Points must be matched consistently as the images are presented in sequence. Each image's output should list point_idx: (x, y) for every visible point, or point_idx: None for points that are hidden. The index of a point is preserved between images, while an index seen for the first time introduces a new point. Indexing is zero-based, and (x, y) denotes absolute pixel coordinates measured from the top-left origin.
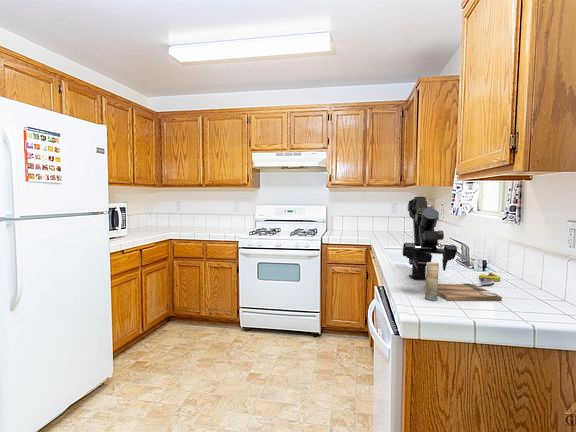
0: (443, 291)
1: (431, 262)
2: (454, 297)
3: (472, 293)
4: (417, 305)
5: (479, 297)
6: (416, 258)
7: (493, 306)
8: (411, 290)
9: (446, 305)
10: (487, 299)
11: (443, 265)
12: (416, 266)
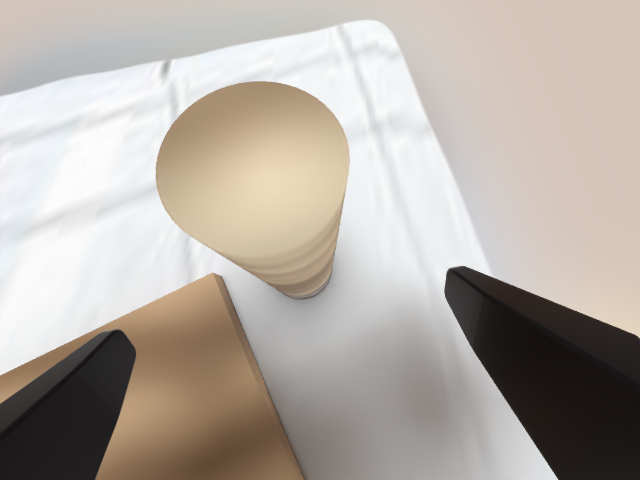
0: (221, 391)
1: (270, 228)
2: (175, 291)
3: None
4: (356, 146)
5: (22, 366)
6: (615, 361)
7: (8, 289)
8: (421, 413)
9: None
10: None
11: (74, 414)
12: (479, 280)
